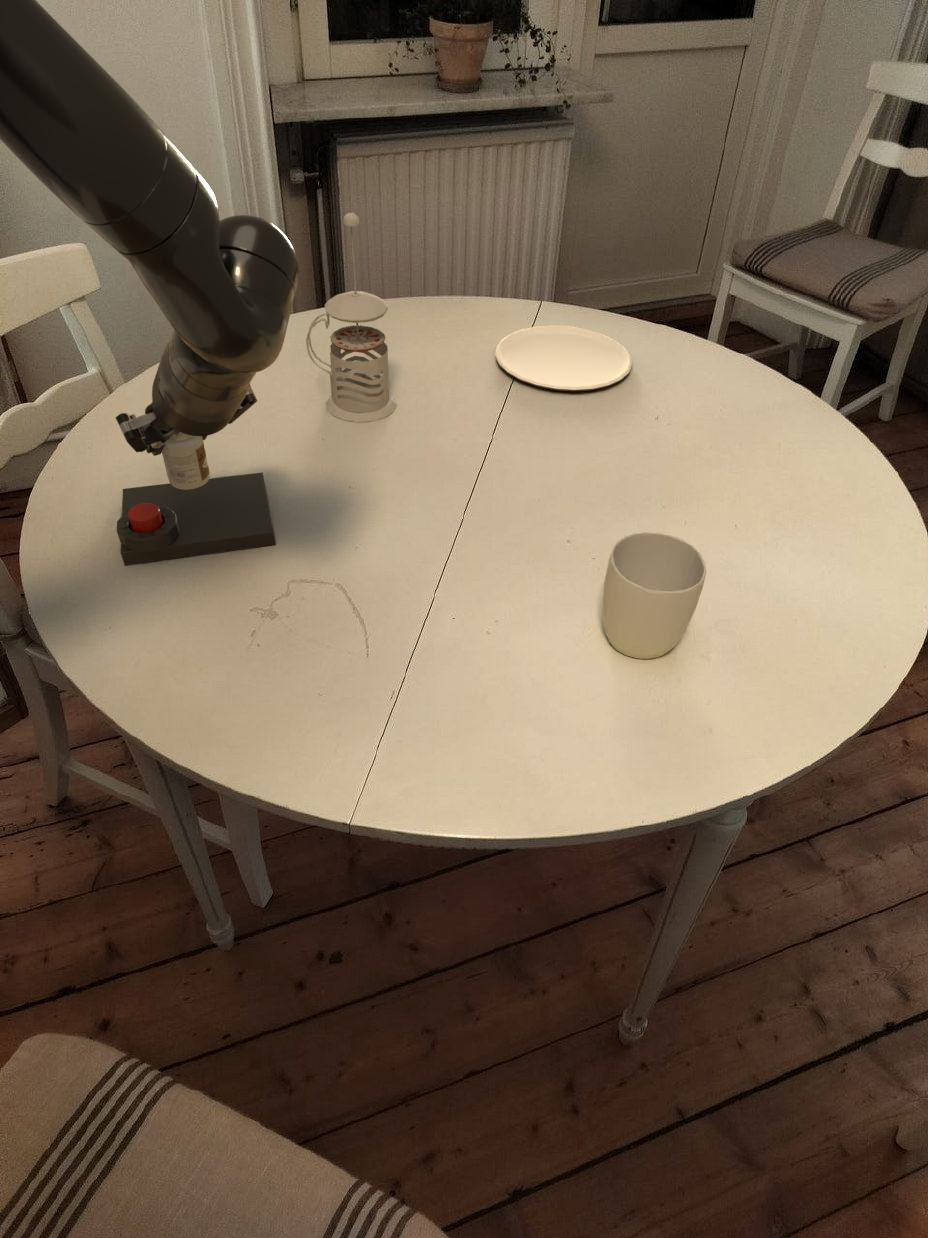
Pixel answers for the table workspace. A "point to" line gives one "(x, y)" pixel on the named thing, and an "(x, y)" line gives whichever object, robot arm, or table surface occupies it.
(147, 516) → the button
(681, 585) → the mug
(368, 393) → the french press
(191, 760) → the table surface
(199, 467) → the pill bottle
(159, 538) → the black button box
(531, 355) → the plate
